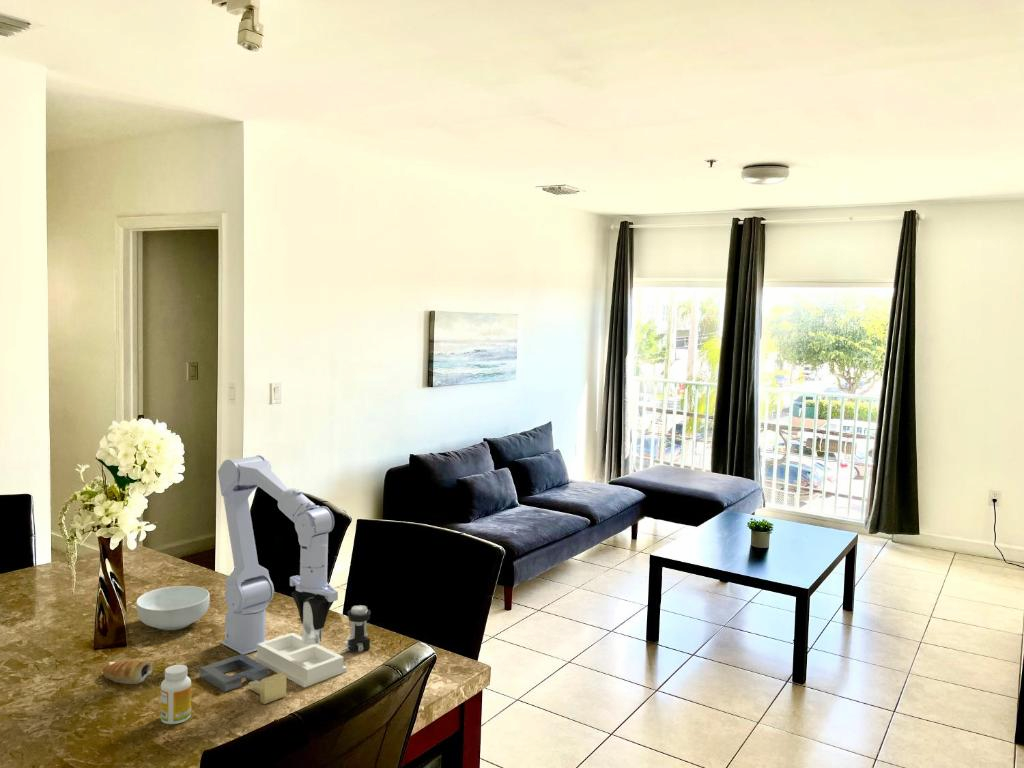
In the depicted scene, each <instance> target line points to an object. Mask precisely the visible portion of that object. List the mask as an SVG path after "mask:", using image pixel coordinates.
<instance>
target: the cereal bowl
mask: <svg viewBox="0 0 1024 768" xmlns="http://www.w3.org/2000/svg"><path fill="white" fill-rule="evenodd" d="M210 599H211V595H210V592H209V591H208V590H207V589H206V588H203V587H199V586H194V585H173V586H167V587H159V588H157V589H153V590H149V591H148V592H145V593H143V594H142V595H140V596H139V597H138V598H137V600H136V601H135V602H136V604H135V607H136V608H135V609H136V613H137V617H138V619H139V620H140V621H141V622H142V623H143V624H145V625H146V626H148V627H151V628H155V629H159V630H162V631H178V630H182V629H185V628H187V627H189V626H190V625H191V624H193V623H195V622H197V621H199V620H200V619H201V618H203V616H204V615H205V614H206V613H207V611H208V609H209V606H210V601H211V600H210Z"/></svg>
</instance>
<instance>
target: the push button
mask: <svg viewBox="0 0 1024 768" xmlns="http://www.w3.org/2000/svg"><path fill="white" fill-rule="evenodd" d="M371 612H372V611H371V609H368V606H366V605H361V604H359V605H353V606H351V609H349V610H347V615H348V617H347V618H348V620H349V621H350V636H349V638H348V639H347V644H345V645H341V647H342V648H344V649H341V651H342V652H347V651H348V652H350V653H356V652H357V653H358V652H363V651H365V650H366V651H369V650H370V648H371V645H370V644H371V643H370V642H371V639H370V638H369V637H368V633H367V623H368V622H367V621H369V619H370V617H371Z"/></svg>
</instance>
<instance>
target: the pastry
mask: <svg viewBox="0 0 1024 768" xmlns="http://www.w3.org/2000/svg"><path fill="white" fill-rule="evenodd" d="M152 673H153V665H152V663H151V661H150V660H141V659H136V658H133V659H130V660H127V659H126V660H122V661H119V662H115V663H111V664H109V665H107V666H105V667H103V668H102V674H103V676H104V678H105V679H106V680H110V681H112V682H114V683H119V684H127V685H137V684H140V683H142V682H144V681H145V679H147V677H148V676H150V675H151V674H152Z"/></svg>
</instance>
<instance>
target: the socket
mask: <svg viewBox="0 0 1024 768" xmlns="http://www.w3.org/2000/svg"><path fill="white" fill-rule="evenodd" d="M237 669H240V670H241V672H239V673H236V674H232V675H226V673H229V672H231V671H232V672H233V671H235V670H237ZM243 670H244V671H243ZM199 677H200V678H201V679H203V680H204V681H206V682H208V683H210V684H211V685H212V686H214V687H216V688H218V689H220V690H221V691H223V692H224V693H226V691H227V692H229V690H230V691H232V689H233V690H235V689H238V688H240V686H241V687H242V679H245V678H246V679H247V680H248V679H249V680H250V681H249V680H248V681H249V682H251V681H255V680H258V681H261V680H262V678H263V679H264V678H267V677H269V668H267V667H266V666H264V665H262V664H260V663H258V662H256V661H255V660H254V658H251V657H249V656H247V655H246V654H240V653H239V654H238V655H235V656H232V657H228V658H225V659H223V660H219V661H216V662H213V663H210V664H206V665H203V666H201V667H199ZM260 679H261V680H260ZM237 687H238V688H237ZM234 688H235V689H234Z"/></svg>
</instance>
